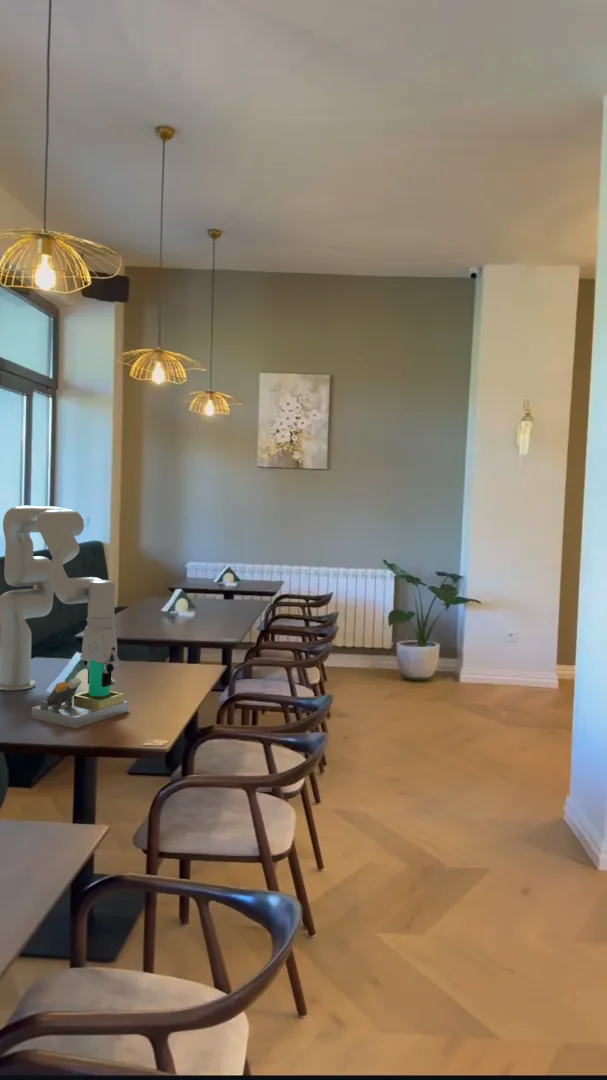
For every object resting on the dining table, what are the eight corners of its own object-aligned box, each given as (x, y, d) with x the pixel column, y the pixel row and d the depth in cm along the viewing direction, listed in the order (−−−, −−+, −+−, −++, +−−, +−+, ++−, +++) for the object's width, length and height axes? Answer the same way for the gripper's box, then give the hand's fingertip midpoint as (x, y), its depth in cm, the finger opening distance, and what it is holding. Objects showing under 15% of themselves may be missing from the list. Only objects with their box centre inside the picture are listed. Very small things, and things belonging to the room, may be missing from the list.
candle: (104, 697, 219) (105, 655, 219) (84, 695, 220) (85, 654, 220) (113, 692, 225) (114, 651, 224) (94, 690, 226) (95, 650, 226)
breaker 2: (56, 701, 219) (70, 679, 216) (64, 699, 222) (78, 677, 219) (60, 705, 218) (73, 683, 216) (68, 703, 221) (81, 681, 218)
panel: (31, 717, 216) (32, 698, 215) (85, 702, 234) (86, 684, 234) (75, 728, 208) (75, 708, 207) (128, 711, 226) (128, 693, 226)
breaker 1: (43, 705, 215) (57, 683, 212) (51, 703, 217) (65, 681, 215) (46, 709, 214) (60, 687, 211) (55, 707, 217) (69, 685, 214)
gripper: (69, 621, 222) (68, 682, 223) (113, 627, 214) (112, 691, 215) (88, 618, 229) (87, 678, 230) (132, 624, 221) (130, 686, 222)
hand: (99, 683), depth 222 cm, fingers closed on candle, 4 cm apart
